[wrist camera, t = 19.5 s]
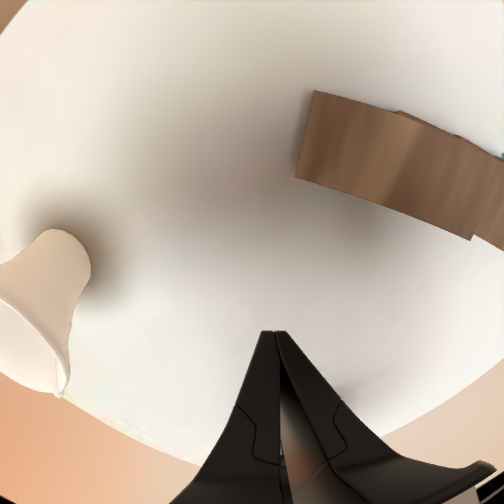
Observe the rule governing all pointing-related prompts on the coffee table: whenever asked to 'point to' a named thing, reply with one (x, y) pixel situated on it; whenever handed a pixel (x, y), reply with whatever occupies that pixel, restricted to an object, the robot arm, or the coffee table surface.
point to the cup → (41, 310)
